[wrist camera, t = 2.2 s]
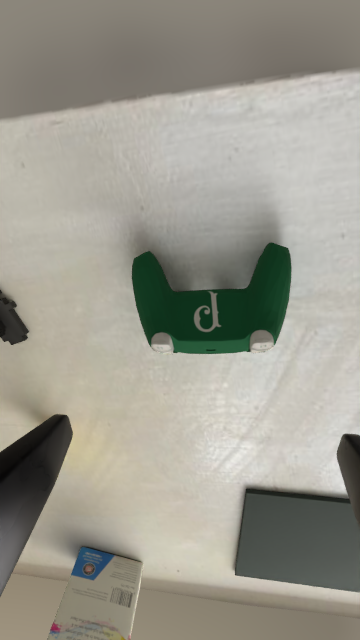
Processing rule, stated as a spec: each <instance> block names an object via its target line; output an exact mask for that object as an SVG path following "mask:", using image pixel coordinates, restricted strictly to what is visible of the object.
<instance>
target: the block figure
mask: <svg viewBox="0 0 360 640" xmlns="http://www.w3.org/2000/svg"><path fill="white" fill-rule="evenodd" d="M0 293H2V292H1V290H0ZM14 307H16V304H15V303H14V301H12V302H10V303H9V302H8V301H7V299H6V298H3V299H0V337H1V338H2V340H3V341H4V342H6V341H9V342H10V344H11V345H13V344H16V343H19V342H22V341H25V340H26V339H27V336H26V335H25V334H27V333H28V332H29V331H28V330H27V328H26V327H25V326H24V324H23V323H22V321H21V320H20V318H19V317H18V315H17V314H16V312H15V311H14V309H13V308H14Z"/></svg>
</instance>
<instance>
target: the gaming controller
mask: <svg viewBox="0 0 360 640" xmlns="http://www.w3.org/2000/svg"><path fill="white" fill-rule="evenodd" d="M132 282H133V289H134V295H135V301H136V306H137V310H138V313H139V317H140V320H141V324H142V327H143V329H144V332H145V335H146V338H147V340H148V343H149V345H150V346H151V347H152V349H153V350H154V351H156V352H158V353H162V354H173V353H177V352H181V353H189V354H221V353H236V352H243V351H246V352H251V353H260V352H265V351H268V350H270V349H272V348H273V347H274V345H275V343H276V341H277V338H278V336H279V334H280V331H281V328H282V324H283V321H284V318H285V314H286V309H287V305H288V301H289V293H290V283H291V258H290V253H289V250H288V248H286V247H283V246H280V245H277V244H275V243H272V242H271V243H269V244H268V245H267V246H266V248H265V249H264V251H263V253H262V255H261V256H260V258H259V260H258V263H257V265H256V268H255V271H254V274H253V276H252V279H251V282H250V284H249V286H248V287H247V288H245V289H216V290H197V291H183V292H175V291H173V290H172V289H171V288H170V286H169V284H168V281H167V279H166V277H165V274H164V272H163V270H162V268H161V266H160V264H159V262H158V261H157V259H156V258H155V256H154V255H153V254H152V253H151V252H150V251H147V252H145V253H143V254H142V255H140V256H138V257H136V258H134V261H133V266H132Z"/></svg>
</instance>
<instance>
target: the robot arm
mask: <svg viewBox="0 0 360 640" xmlns="http://www.w3.org/2000/svg"><path fill="white" fill-rule="evenodd" d="M72 435H73V432H72V428H71V424H70V421H69V417H68V416H67V415H61V414H56V415H54V416H52V417H51V418H49V419H48V420H46V421H45V422H43V423H42V424H40V425H39V426H37V427H36V428H35V429H33V430H32V431H30V432H29V433H27V434H26V435H24V436H23V437H21V438H20V439H19V440H17V441H16V442H14V443H13V444H11V445H10V446H8V447H7V448H6V449H4V450H3V451H1V452H0V596H1V594H2V592H3V590H4V588H5V586H6V584H7V582H8V580H9V578H10V576H11V574H12V572H13V570H14V567H15V565H16V563H17V561H18V559H19V557H20V555H21V553H22V551H23V549H24V547H25V545H26V543H27V541H28V539H29V536H30V534H31V532H32V530H33V528H34V526H35V524H36V522H37V520H38V518H39V516H40V514H41V512H42V510H43V508H44V506H45V503H46V501H47V499H48V497H49V495H50V493H51V491H52V489H53V487H54V484H55V482H56V480H57V477H58V474H59V472H60V469H61V466H62V464H63V461H64V458H65V456H66V453H67V450H68V448H69V445H70V442H71V440H72ZM337 460H338V463H339V466H340V470H341V473H342V477H343V480H344V483H345V487H346V490H347V493H348V497H349V500H350V503H351V507H352V510H353V513H354V515H355V518H356V521H357V523H358V526H359V528H360V436H359V435H356V434H344V435H343V436H342V438H341V441H340V444H339V447H338V450H337Z"/></svg>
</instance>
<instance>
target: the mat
mask: <svg viewBox="0 0 360 640" xmlns="http://www.w3.org/2000/svg"><path fill="white" fill-rule="evenodd" d="M235 575H237V576H244V577H251V578H259V579H266V580H273V581H280V582H288V583H295V584H302V585H309V586H316V587H324V588H331V589H338V590H345V591H353V592H360V528H359V526H358V523H357V521H356V518H355V515H354V513H353V510H352V507H351V503H350V500H349V499H339V498H330V497H320V496H310V495H300V494H290V493H280V492H270V491H260V490H250V489H246V494H245V501H244V509H243V516H242V523H241V531H240V538H239V545H238V553H237V560H236V568H235Z"/></svg>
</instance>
